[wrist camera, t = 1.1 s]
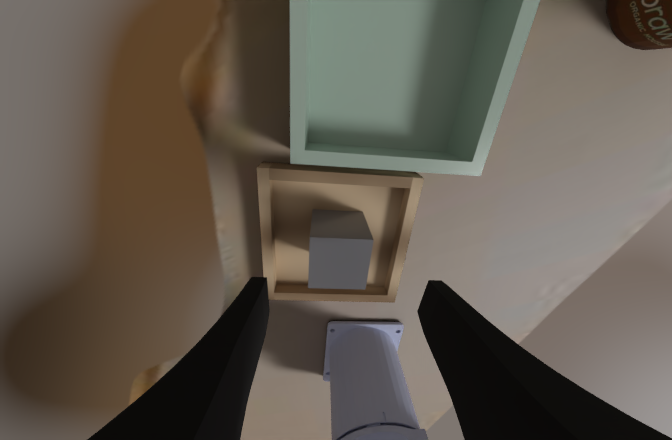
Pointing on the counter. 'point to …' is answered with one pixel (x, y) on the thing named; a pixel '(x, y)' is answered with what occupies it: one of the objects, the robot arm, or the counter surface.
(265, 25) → the counter surface
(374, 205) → the oak tray
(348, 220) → the stone block
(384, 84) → the green bin
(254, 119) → the counter surface
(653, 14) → the food container
